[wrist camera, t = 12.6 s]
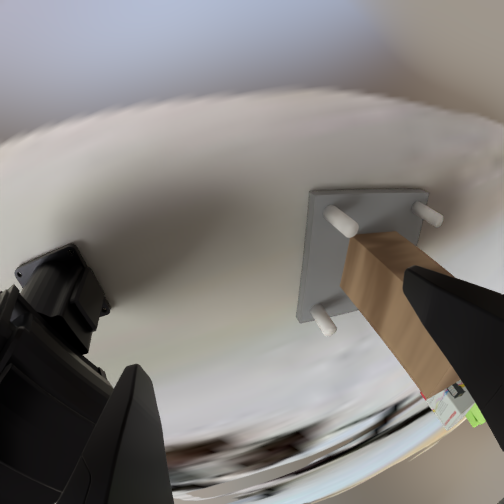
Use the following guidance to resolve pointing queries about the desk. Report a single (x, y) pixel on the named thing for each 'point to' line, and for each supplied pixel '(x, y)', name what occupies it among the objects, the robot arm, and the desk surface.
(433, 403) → the ink box
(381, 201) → the peg plate
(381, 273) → the walnut block
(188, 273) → the desk surface
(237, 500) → the desk surface
